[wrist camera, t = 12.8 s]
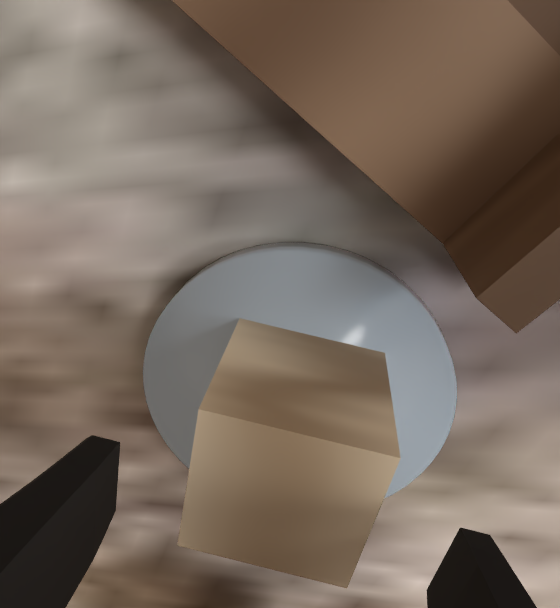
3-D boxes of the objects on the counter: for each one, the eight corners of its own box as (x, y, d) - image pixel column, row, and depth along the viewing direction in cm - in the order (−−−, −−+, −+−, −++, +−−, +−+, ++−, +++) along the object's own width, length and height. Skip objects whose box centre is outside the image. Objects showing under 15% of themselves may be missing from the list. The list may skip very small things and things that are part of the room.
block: (385, 352, 13) (400, 458, 9) (346, 462, 14) (346, 588, 11) (239, 318, 13) (198, 408, 9) (218, 431, 15) (176, 545, 11)
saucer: (519, 381, 13) (529, 398, 13) (311, 534, 17) (310, 554, 16) (273, 170, 12) (269, 175, 11) (101, 387, 15) (89, 402, 15)
